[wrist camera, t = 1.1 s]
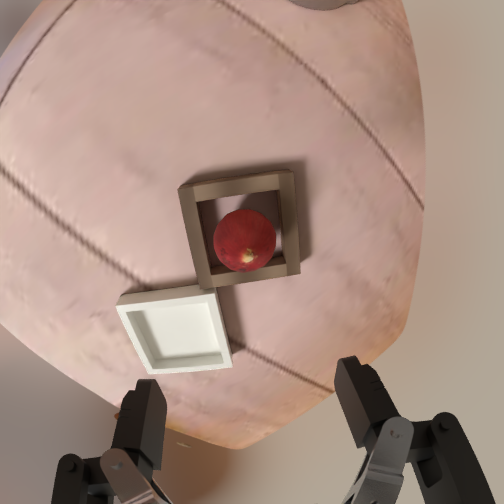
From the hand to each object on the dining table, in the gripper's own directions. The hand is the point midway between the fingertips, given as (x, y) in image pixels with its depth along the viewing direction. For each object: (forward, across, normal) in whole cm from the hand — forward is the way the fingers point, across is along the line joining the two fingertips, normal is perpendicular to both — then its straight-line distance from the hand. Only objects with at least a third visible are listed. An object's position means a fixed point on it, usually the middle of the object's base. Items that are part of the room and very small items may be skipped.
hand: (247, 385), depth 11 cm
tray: (+20, +8, +12) cm, 25 cm away
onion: (+20, -1, 0) cm, 20 cm away
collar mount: (+20, -1, 0) cm, 20 cm away
